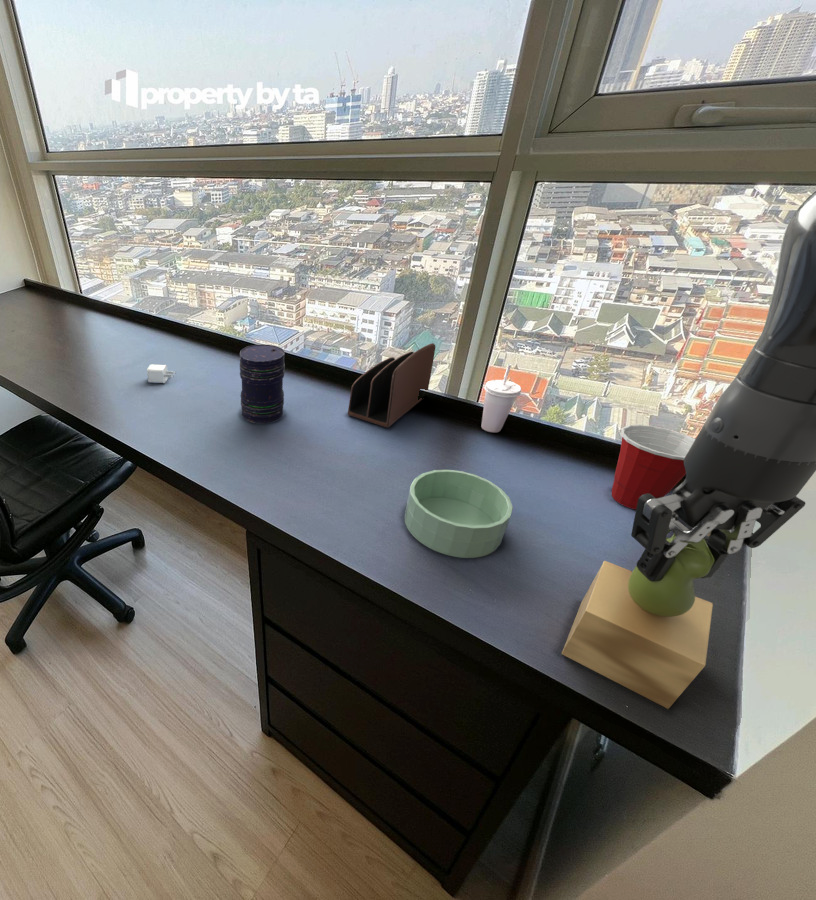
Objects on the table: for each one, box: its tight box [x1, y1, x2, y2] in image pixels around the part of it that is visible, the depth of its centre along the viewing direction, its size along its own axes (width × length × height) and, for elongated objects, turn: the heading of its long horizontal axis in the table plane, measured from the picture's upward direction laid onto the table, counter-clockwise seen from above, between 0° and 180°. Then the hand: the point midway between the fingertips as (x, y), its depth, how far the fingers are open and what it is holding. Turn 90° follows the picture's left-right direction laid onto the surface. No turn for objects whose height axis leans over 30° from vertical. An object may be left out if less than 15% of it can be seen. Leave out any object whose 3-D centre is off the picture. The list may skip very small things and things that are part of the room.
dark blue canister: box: [239, 343, 286, 425], centre depth 108 cm, size 10×10×15 cm
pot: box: [404, 469, 514, 559], centre depth 75 cm, size 14×14×6 cm
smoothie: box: [480, 363, 522, 433], centre depth 97 cm, size 6×6×14 cm
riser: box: [561, 560, 714, 710], centre depth 55 cm, size 10×10×8 cm
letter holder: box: [347, 343, 436, 429], centre depth 108 cm, size 10×20×14 cm, turn 137°
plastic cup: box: [611, 423, 696, 511], centre depth 77 cm, size 11×11×12 cm
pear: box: [628, 533, 714, 617], centre depth 50 cm, size 6×5×10 cm
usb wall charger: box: [146, 364, 177, 384], centre depth 129 cm, size 4×7×4 cm, turn 79°
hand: (672, 572), depth 50 cm, fingers closed on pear, 4 cm apart
